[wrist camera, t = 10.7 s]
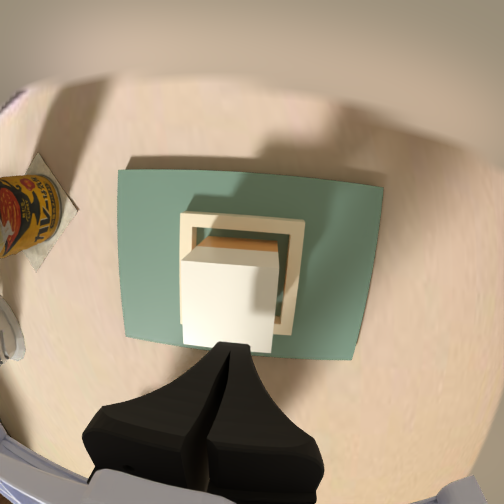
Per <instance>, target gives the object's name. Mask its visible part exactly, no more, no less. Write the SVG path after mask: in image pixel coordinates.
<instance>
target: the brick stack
mask: <svg viewBox="0 0 504 504" xmlns="http://www.w3.org/2000/svg"><path fill="white" fill-rule="evenodd" d="M278 277H279V257H278V244H277V241H273V240H259V239H246V238H231V237H217V236H207V237H206V238H205V239H204V240H203V241H202V242H201V243H200V244H198V245H197V246H196V247H195V248H194V249H193V250H192V251H191V252H190V253H189V254H187V255H186V256H185V257H184V258H183V259H182V260H181V296H182V324H183V344H187V345H195V346H202V347H211V348H213V347H214V345H215V344H216V343H217V342H219V341H222V342H232V343H242V344H249V346H250V347H251V348H250V350H251V352H262V353H271V347H272V338H273V328H274V319H275V309H276V298H277V288H278Z"/></svg>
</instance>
